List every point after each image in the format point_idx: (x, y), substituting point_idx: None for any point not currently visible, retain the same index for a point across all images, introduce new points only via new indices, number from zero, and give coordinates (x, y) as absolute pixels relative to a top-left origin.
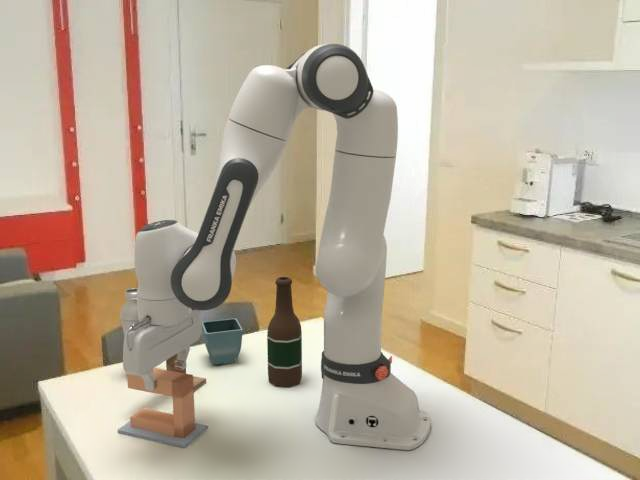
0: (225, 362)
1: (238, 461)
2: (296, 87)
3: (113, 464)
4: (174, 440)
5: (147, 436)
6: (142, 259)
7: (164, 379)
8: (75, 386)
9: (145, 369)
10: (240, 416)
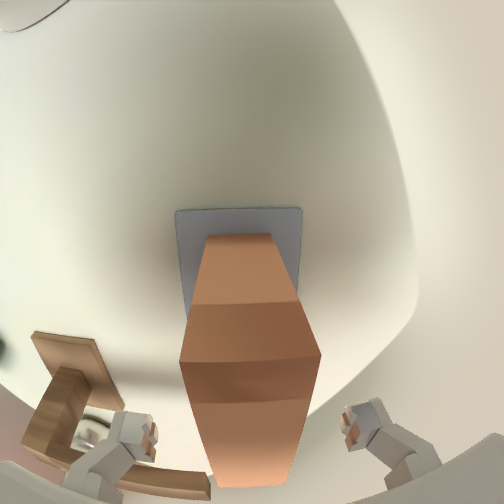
0: None
1: (303, 45)
2: None
3: (391, 306)
4: (289, 249)
5: None
6: None
7: (297, 423)
8: (186, 462)
9: (493, 451)
10: (85, 166)
